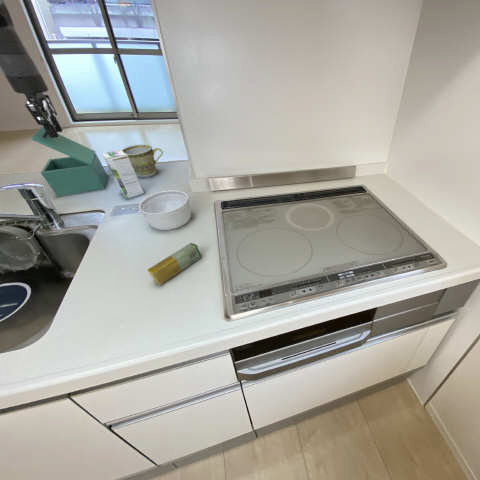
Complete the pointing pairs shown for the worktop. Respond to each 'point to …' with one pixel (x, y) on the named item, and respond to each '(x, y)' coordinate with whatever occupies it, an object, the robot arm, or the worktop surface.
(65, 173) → the teal box
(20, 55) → the robot arm
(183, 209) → the ramekin
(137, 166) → the ceramic cup
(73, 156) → the teal box lid
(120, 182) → the syrup box
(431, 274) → the worktop surface
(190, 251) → the medication box
